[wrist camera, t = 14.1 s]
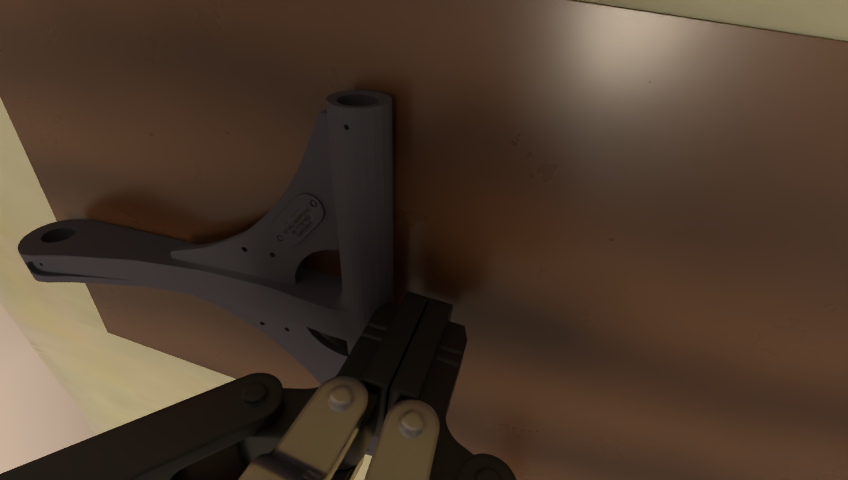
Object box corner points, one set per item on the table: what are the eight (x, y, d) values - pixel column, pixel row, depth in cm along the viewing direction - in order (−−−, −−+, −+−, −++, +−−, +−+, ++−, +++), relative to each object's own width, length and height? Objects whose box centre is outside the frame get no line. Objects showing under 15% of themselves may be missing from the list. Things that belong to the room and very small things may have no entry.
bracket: (-17, 43, 14) (-126, 59, 12) (401, 93, 11) (355, 127, 9) (134, 341, 22) (84, 384, 20) (401, 423, 19) (377, 485, 17)
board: (-86, -100, 12) (-90, -101, 12) (1645, 162, 6) (1659, 165, 6) (109, 331, 23) (107, 332, 23) (829, 590, 16) (830, 593, 16)
